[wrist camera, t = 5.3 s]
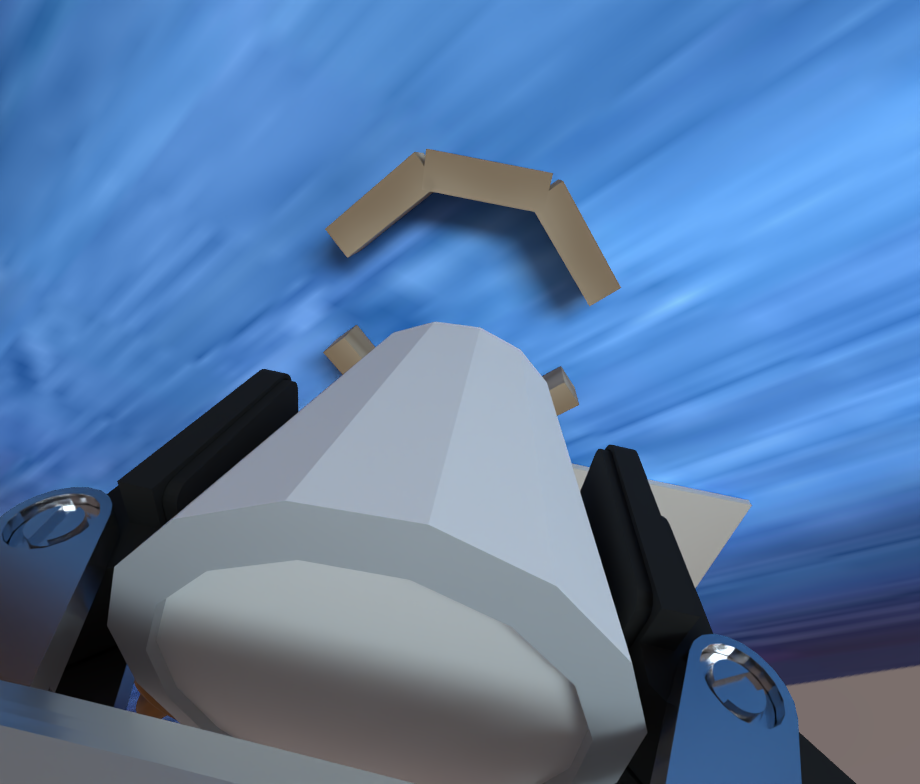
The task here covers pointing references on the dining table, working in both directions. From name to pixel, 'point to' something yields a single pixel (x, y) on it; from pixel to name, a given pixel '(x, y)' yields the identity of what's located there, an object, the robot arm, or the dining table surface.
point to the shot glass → (396, 583)
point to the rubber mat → (693, 520)
